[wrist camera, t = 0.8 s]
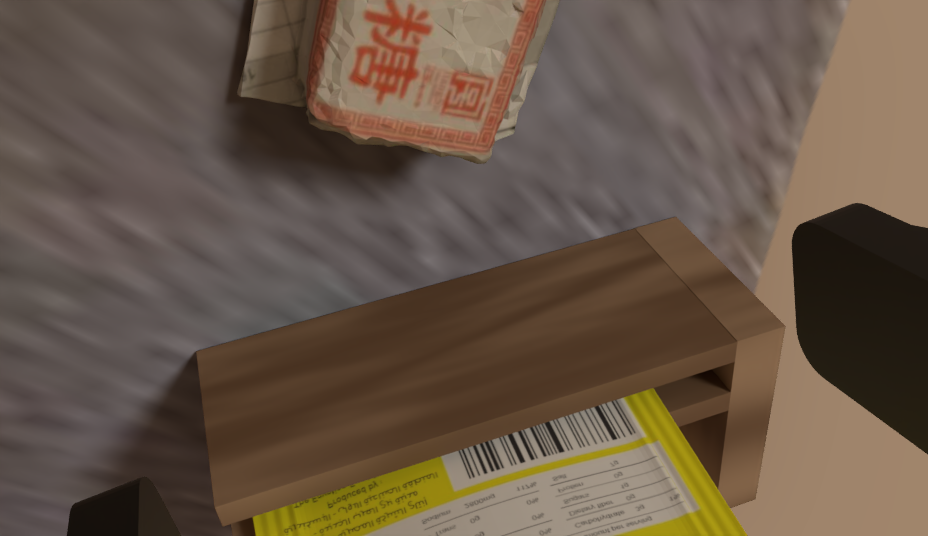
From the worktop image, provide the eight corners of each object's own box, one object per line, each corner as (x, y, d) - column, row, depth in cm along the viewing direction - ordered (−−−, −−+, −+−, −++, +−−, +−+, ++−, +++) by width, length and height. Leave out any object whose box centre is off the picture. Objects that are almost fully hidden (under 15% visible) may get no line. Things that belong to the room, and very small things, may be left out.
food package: (227, 373, 35) (337, 971, 21) (221, 355, 34) (330, 964, 20) (575, 275, 38) (868, 740, 24) (576, 256, 37) (880, 727, 23)
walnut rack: (196, 350, 34) (214, 506, 28) (675, 216, 38) (785, 326, 32) (257, 511, 40) (283, 668, 34) (665, 380, 44) (755, 499, 38)
